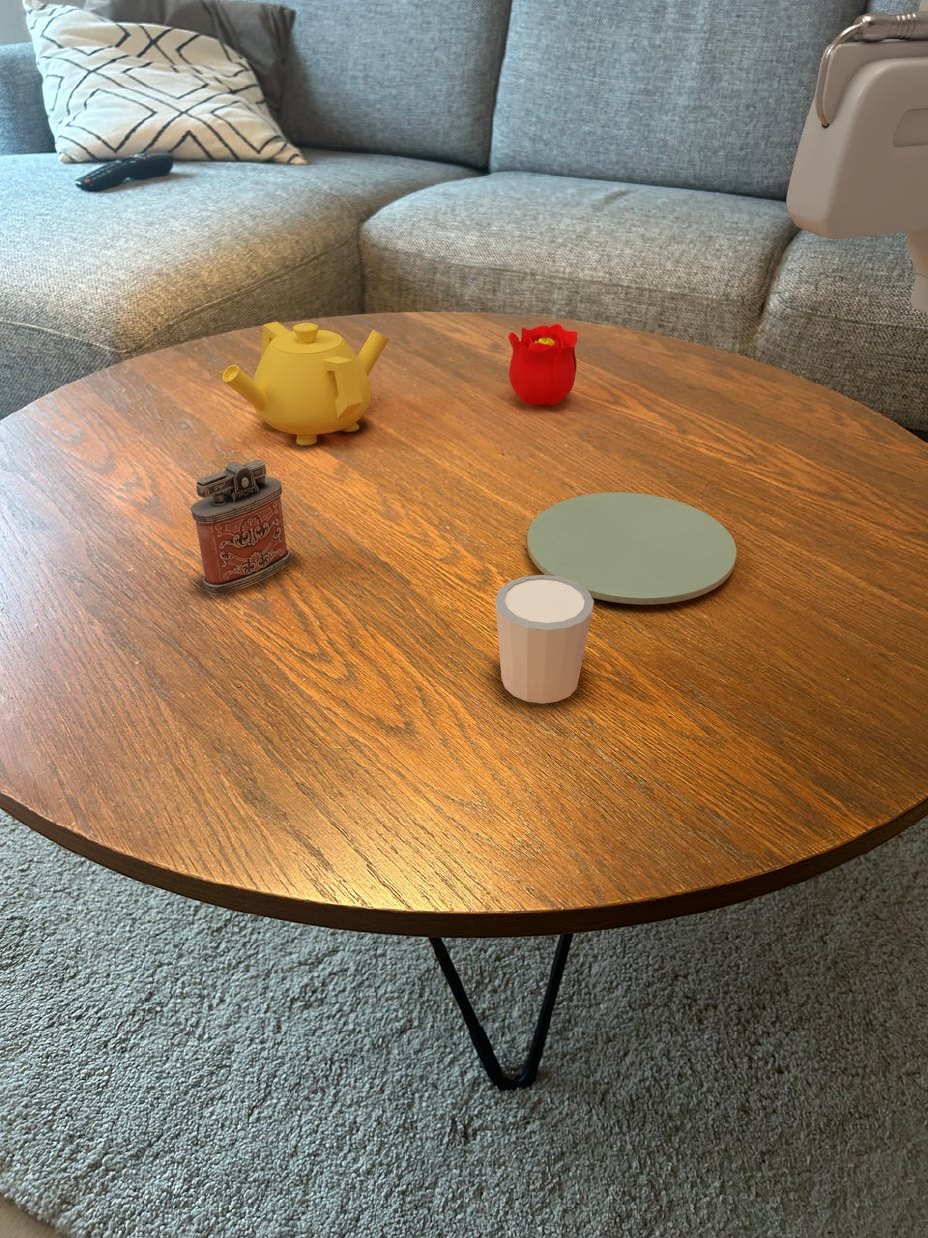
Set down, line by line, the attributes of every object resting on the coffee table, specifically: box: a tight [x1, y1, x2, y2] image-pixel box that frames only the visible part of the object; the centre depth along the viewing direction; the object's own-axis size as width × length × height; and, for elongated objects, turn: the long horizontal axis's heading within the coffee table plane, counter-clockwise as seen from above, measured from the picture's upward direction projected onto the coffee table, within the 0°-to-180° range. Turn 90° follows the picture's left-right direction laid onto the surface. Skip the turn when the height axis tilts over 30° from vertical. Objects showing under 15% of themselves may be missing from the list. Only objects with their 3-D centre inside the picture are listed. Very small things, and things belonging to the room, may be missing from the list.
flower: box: [508, 323, 579, 406], centre depth 114 cm, size 8×8×8 cm
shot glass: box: [494, 574, 595, 704], centre depth 72 cm, size 7×7×7 cm
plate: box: [526, 491, 738, 606], centre depth 88 cm, size 18×18×2 cm
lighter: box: [190, 459, 291, 596], centre depth 83 cm, size 8×3×10 cm, turn 135°
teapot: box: [221, 320, 390, 446], centre depth 107 cm, size 20×18×11 cm
